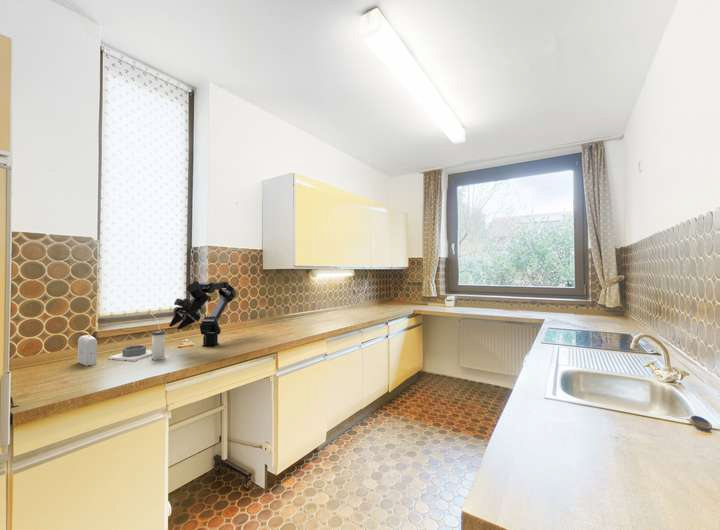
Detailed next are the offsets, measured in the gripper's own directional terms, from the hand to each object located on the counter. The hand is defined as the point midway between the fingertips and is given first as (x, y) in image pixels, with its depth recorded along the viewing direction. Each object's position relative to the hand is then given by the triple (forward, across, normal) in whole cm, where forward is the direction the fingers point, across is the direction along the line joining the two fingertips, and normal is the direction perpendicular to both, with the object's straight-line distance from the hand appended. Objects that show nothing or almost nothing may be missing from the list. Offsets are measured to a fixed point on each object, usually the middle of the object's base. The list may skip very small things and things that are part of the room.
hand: (173, 327), depth 153 cm
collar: (+18, -13, +1) cm, 22 cm away
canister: (+14, 0, +5) cm, 15 cm away
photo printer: (+30, -15, -11) cm, 36 cm away
